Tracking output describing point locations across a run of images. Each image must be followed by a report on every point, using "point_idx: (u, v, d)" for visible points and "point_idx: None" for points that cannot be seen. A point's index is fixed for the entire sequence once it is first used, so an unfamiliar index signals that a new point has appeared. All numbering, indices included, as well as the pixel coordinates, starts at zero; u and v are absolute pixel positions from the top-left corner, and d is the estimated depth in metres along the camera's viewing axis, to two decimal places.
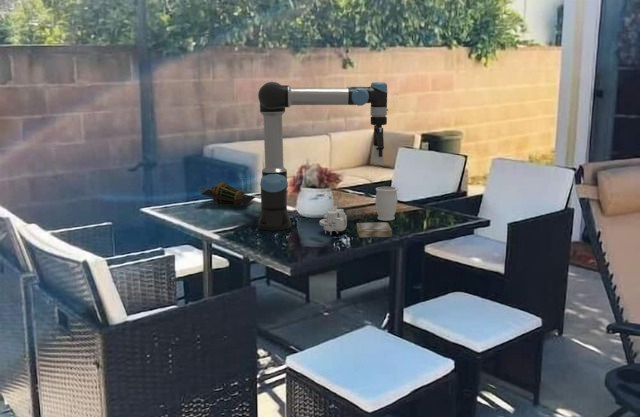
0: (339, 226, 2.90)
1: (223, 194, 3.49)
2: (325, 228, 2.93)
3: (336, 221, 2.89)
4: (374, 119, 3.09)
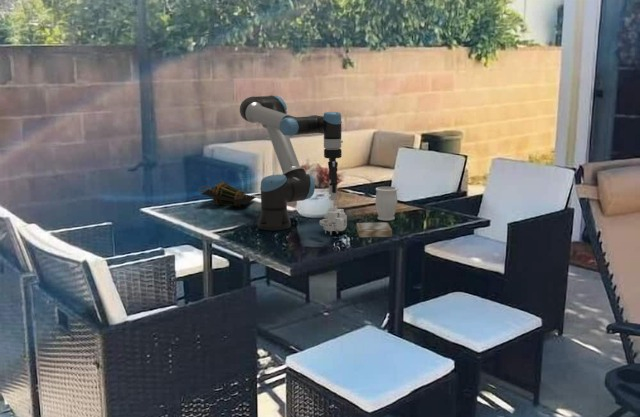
0: (339, 226, 2.90)
1: (223, 194, 3.49)
2: (325, 228, 2.93)
3: (336, 221, 2.89)
4: (327, 152, 2.85)
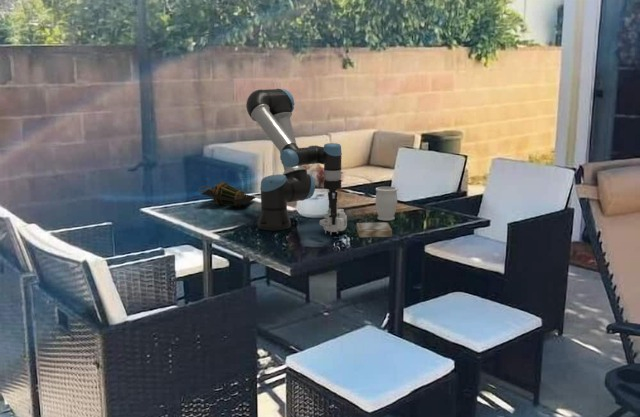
0: (339, 226, 2.90)
1: (223, 194, 3.49)
2: (325, 228, 2.93)
3: None
4: (327, 183, 2.88)
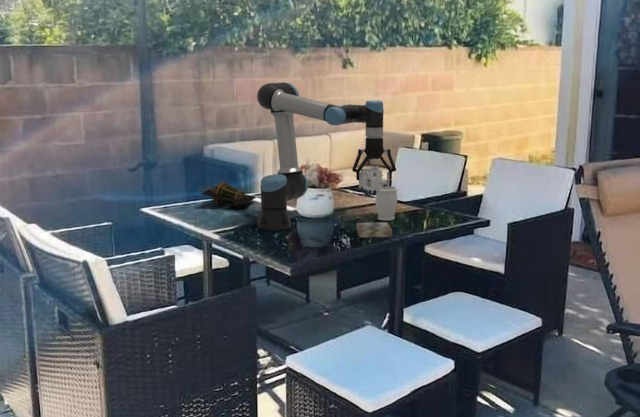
0: (362, 184, 2.87)
1: (223, 194, 3.50)
2: None
3: None
4: None
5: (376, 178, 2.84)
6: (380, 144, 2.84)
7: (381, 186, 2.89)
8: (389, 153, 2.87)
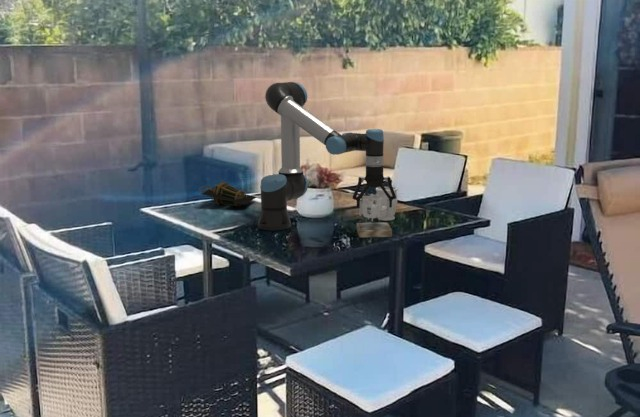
0: (362, 212, 2.90)
1: (224, 194, 3.50)
2: None
3: None
4: None
5: (376, 206, 2.86)
6: (380, 172, 2.87)
7: (381, 214, 2.91)
8: (389, 181, 2.89)
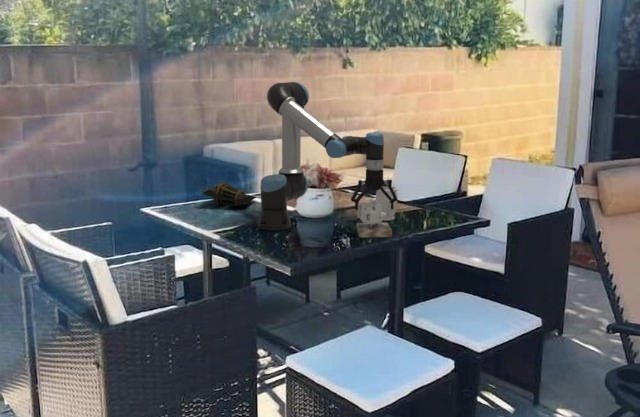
0: (361, 218, 2.91)
1: (224, 194, 3.50)
2: None
3: None
4: None
5: (375, 212, 2.87)
6: (380, 176, 2.87)
7: (380, 220, 2.92)
8: (389, 184, 2.90)
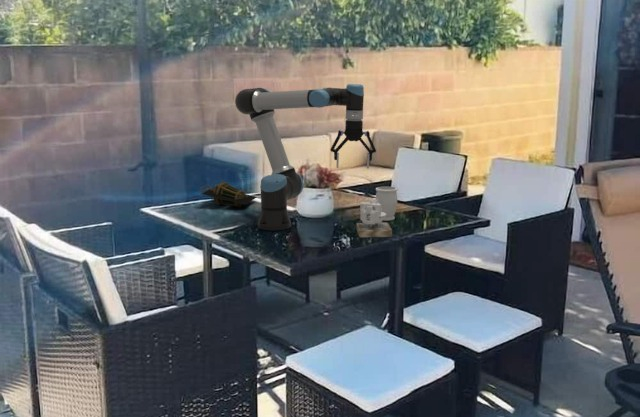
0: (361, 218, 2.91)
1: (224, 194, 3.50)
2: None
3: None
4: None
5: (375, 212, 2.87)
6: (359, 127, 2.93)
7: (380, 220, 2.92)
8: (368, 135, 2.96)
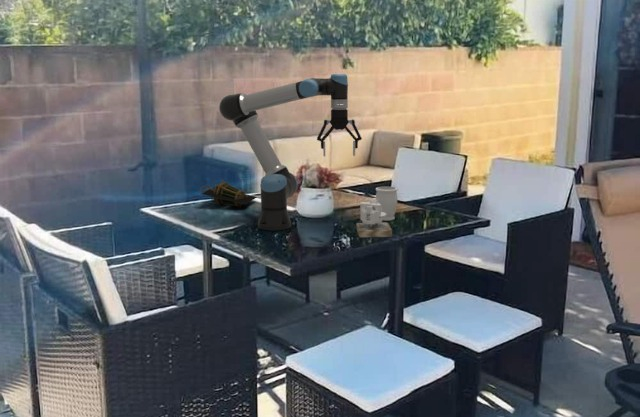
0: (361, 218, 2.91)
1: (224, 194, 3.50)
2: None
3: None
4: None
5: (375, 212, 2.87)
6: (344, 115, 3.00)
7: (380, 220, 2.92)
8: (353, 123, 3.02)
